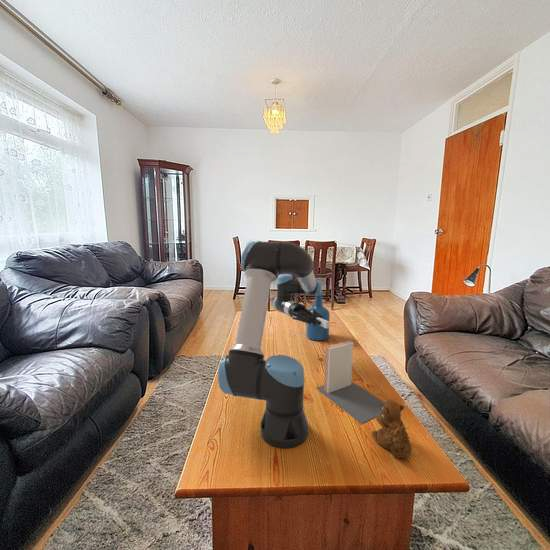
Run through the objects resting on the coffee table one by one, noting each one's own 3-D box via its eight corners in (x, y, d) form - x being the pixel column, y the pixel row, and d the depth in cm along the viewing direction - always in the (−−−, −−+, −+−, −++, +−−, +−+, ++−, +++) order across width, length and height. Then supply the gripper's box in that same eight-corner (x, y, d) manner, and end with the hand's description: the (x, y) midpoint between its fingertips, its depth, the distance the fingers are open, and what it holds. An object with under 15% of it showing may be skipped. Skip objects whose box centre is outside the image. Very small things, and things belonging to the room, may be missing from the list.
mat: (315, 388, 115) (315, 387, 115) (345, 378, 123) (345, 377, 123) (360, 424, 95) (360, 423, 95) (393, 409, 103) (393, 408, 103)
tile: (323, 389, 114) (325, 346, 111) (346, 381, 120) (348, 340, 117) (328, 393, 112) (329, 349, 109) (351, 384, 118) (353, 342, 114)
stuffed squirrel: (400, 430, 92) (403, 392, 90) (422, 467, 78) (427, 423, 76) (369, 430, 92) (371, 392, 90) (385, 466, 79) (388, 422, 76)
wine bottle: (331, 341, 162) (333, 288, 157) (308, 341, 161) (309, 289, 156) (326, 332, 175) (327, 283, 170) (304, 332, 175) (305, 283, 170)
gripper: (306, 315, 142) (339, 331, 122) (283, 320, 135) (314, 336, 115) (306, 300, 141) (340, 313, 121) (283, 304, 134) (315, 318, 114)
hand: (327, 325), depth 118 cm, fingers closed
